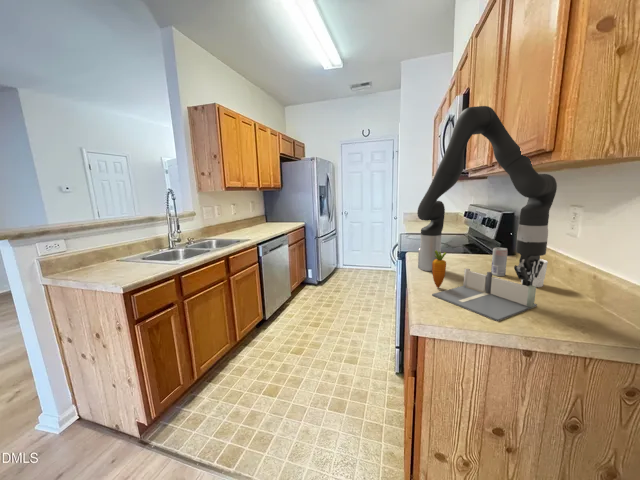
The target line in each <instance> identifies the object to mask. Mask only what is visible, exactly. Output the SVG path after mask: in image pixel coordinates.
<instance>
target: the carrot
mask: <svg viewBox="0 0 640 480" xmlns="http://www.w3.org/2000/svg"><path fill="white" fill-rule="evenodd" d="M435 253H436V255H437V256H435V257H436V258H437V259H435V260H434V261H433V262H432V271H431V272H432V279H433V282H434V285H435V286H436V288H437V289H439V288H440V287H441V286H442V284H443V282H444V280H445V275H446V269H447V261H446V260H444V257H445V256H446V254H447V252H443V254H442V252H439V254H438V251H437V250H436V251H435Z"/></svg>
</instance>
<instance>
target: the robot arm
mask: <svg viewBox="0 0 640 480" xmlns="http://www.w3.org/2000/svg"><path fill="white" fill-rule="evenodd" d="M473 135H474V136H475V135H482V136H483V137H484V138H486V139H487V141H489V142H490V144H491V146H492V149H493V155H494V158H495V160H496V162H497V163H498V164H499V166H500V167H501V168H502V169H503V170H504V172H506V173H507V175H508V176H509V177H510V180H511V182H512V185H513V187H514V189H515V190H516V191H517V192H518V193H519V195H521V196H523V197H525V198H528V199H527V203H526V204H525V205H524V206H522V208H521V209H520V213H519V221H518V223H519V224H518V229H517V232H516V233H517V234H516V236H517V237H516V245H515V253H517V254H519V255H520V257H519V260H518V261H519V263H518V265H517V264H515V265H514V266H513V268H514V272H515V273H516V276H517V278H518V279H519V280H521V279H522V280H523V281H522V283H521V284H522V285H525V286H529V285H532V284H533V280H534V279H535V277H536V278H537V276H538V274H539V272H540V270H541V268H542V266H543V264H544V262H543V261H540V259H541V257H542V256H544V255H546V254H547V248H548V247H547V246H548V238H549V237H548V236H549V219H550V210H551V208H552V205H553V202H554V199H555V197H556V193H557V189H558V188H557V187H558V185H557V184H558V183H557V180H556V179H555V177H554V176H553V175H551V174H548V173H538V172H537V171H536V170H535V169H534V167H533V166H532V164H531V161H530V159H529V158H528V157H526V156H523V155H521V151H520V148H521V146H519V145H518V143H517V142H516V141H515V140H514V138H513V137H512V136H511V135H510V133H509V132H508V129H506V127H505V126H504V124H503V123H502V120H501V119H500V117H499V116H498V114H497V113H496V112H495V110H494V109H493V108H492V107H490V106H488V105H481V106H480V105H478V106H470V107H469V106H468V107H467V108H465V109H463V110H462V111H461V112H460V113H459V115H458V118H457V120H456V123H455V125H454V128H453V131H452V134H451V137H450V140H449V142H448V145H447V147H446V150H445V152H444V155H443V156H442V159H441V162H440V163H439V165H438V167H437V170H436V171H435V174H434V177H433V179H432V181H431V183H430V185H429V187H428V189H427V191H426V192H425V194H424V196H423V198H422V199H421V201H420V203H419V205H418V208H417V217H418V219H419V220H421V221H427V222H428V221H430V222H429V224H427V225H426V226H423V227H422V228H421V229H420V241H419V242H420V245H419V246H420V248H418V255H417V259H418V260H417V268H418V269H419V270H422V271H424V272H425V271H426V272H432V262H433V261H434V260H435V259H437V258H436V257H435V256H437V255H436V253H435V251H436V250H437V251H438V254H439V252H441V250H442V234H443V233H442V232H443V230H444V222H445V215H446V214H445V212H446V208H445V204H444V203H443V202H442V200H439V198H440V197H441V196H443V195H444V194H445V193H447V192H448V191H449V190H450V189H451V188H452V187H454V186H455V185H456V183H458V180H459V179H460V177H461V175H462V174H463V171H464V169H465V157H464V156H465V154H464V153H465V149H466V146H467V145H468V143H469V140H470V139H471V137H473ZM441 253H442V252H441Z"/></svg>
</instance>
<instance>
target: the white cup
mask: <svg viewBox="0 0 640 480" xmlns="http://www.w3.org/2000/svg"><path fill="white" fill-rule="evenodd" d="M540 261H543V262H544V264H543V266H542V268H541V270H540V272H539V274H538V276H537V278H536V277H535V279H534V280H533V284H532V285H533V286H536V288H542V287H544V282H545V281H544V280H545V279H546V275H547V274H546V273H547V267H548V263H549V262H548V260H545V259H543V258H542V259H541V258H540ZM522 281H523V280H522V279H520V282H521V283H520V284H522Z"/></svg>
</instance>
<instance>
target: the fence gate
mask: <svg viewBox="0 0 640 480" xmlns="http://www.w3.org/2000/svg"><path fill="white" fill-rule="evenodd" d="M536 292H537V287H536V286H533V285H529V286H525V285H522V283H517V282H514V281H512V280H511V281H510V280H507V279H503V278H500V277H499V278H498V277H497V276H492V282H491V294H493V295H496V296H499V297H502V298H505V299H508V300H511V301H514V302H517V303H520V304H523V305H526V306H528V307H534V304H535V299H536ZM534 308H535V307H534Z"/></svg>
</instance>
